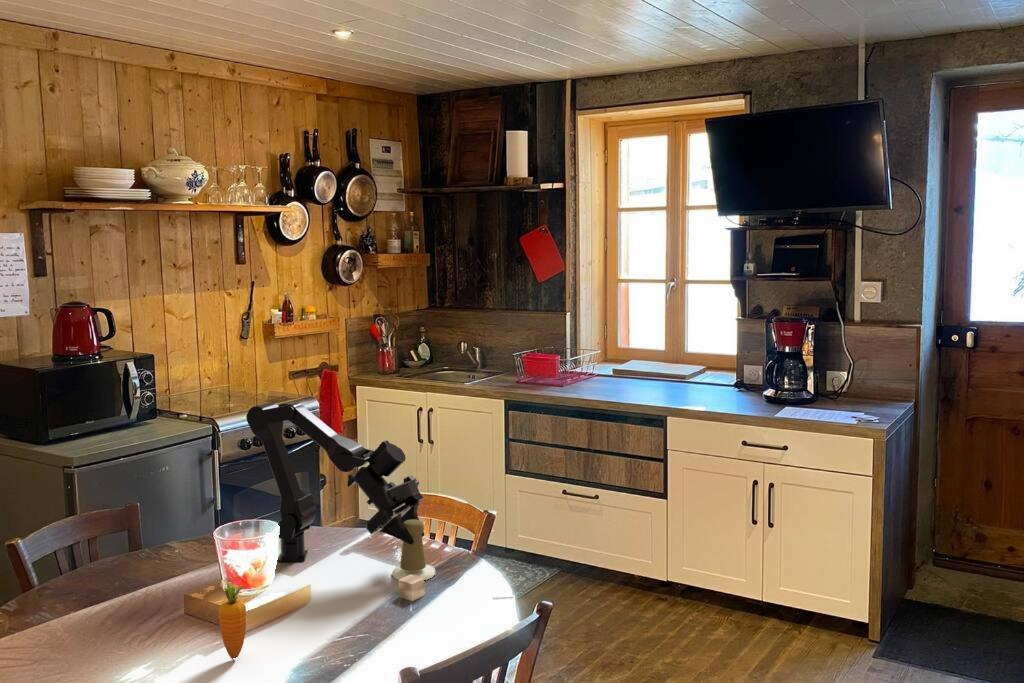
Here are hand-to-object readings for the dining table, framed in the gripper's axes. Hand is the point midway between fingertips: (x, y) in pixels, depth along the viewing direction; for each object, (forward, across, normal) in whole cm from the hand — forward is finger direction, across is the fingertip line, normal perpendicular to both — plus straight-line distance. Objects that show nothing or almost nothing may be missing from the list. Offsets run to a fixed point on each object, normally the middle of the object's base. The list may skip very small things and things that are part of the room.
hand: (418, 539), depth 210 cm
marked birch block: (+9, -12, +3) cm, 15 cm away
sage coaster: (+5, 0, +7) cm, 9 cm away
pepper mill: (+4, 0, +6) cm, 7 cm away
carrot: (-2, -51, +15) cm, 53 cm away
